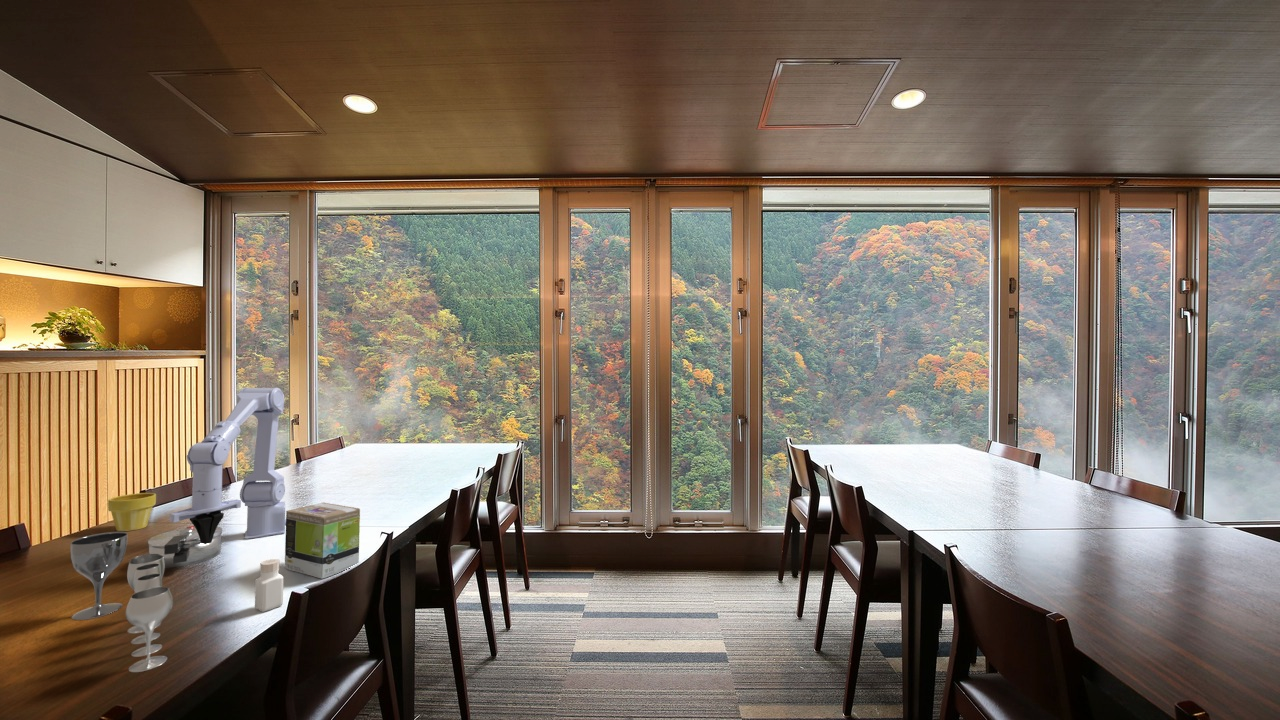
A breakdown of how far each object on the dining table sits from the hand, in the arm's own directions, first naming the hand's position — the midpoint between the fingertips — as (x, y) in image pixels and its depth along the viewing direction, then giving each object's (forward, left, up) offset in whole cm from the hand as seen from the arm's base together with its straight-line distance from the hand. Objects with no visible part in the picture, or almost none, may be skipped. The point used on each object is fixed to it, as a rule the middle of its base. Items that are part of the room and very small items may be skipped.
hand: (206, 542), depth 127 cm
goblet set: (+6, +39, -6) cm, 40 cm away
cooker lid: (+5, -6, 0) cm, 8 cm away
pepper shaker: (-12, +37, -6) cm, 40 cm away
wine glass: (+16, +19, -6) cm, 25 cm away
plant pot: (+21, -50, -6) cm, 54 cm away
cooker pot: (+5, -6, -5) cm, 9 cm away
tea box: (-23, +19, -6) cm, 31 cm away
